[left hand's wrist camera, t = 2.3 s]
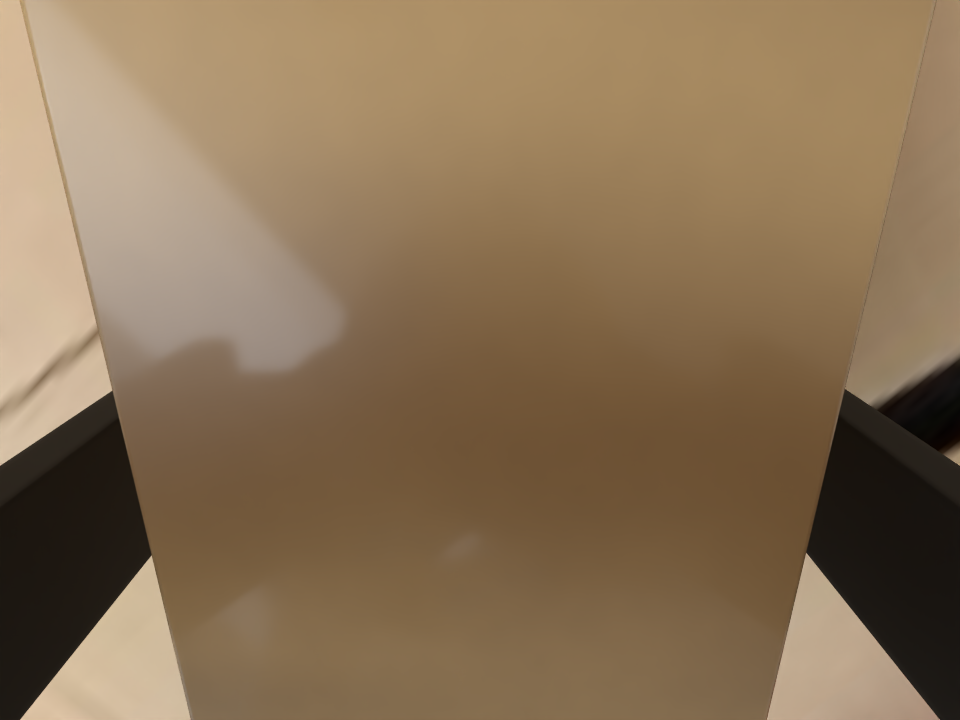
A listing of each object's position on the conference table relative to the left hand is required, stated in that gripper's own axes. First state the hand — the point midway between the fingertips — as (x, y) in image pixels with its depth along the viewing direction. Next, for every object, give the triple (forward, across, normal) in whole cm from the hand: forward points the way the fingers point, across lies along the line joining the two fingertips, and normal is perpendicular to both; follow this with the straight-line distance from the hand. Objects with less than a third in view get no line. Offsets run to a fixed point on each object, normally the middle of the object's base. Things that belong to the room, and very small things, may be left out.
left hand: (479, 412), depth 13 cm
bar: (+2, 0, -8) cm, 8 cm away
